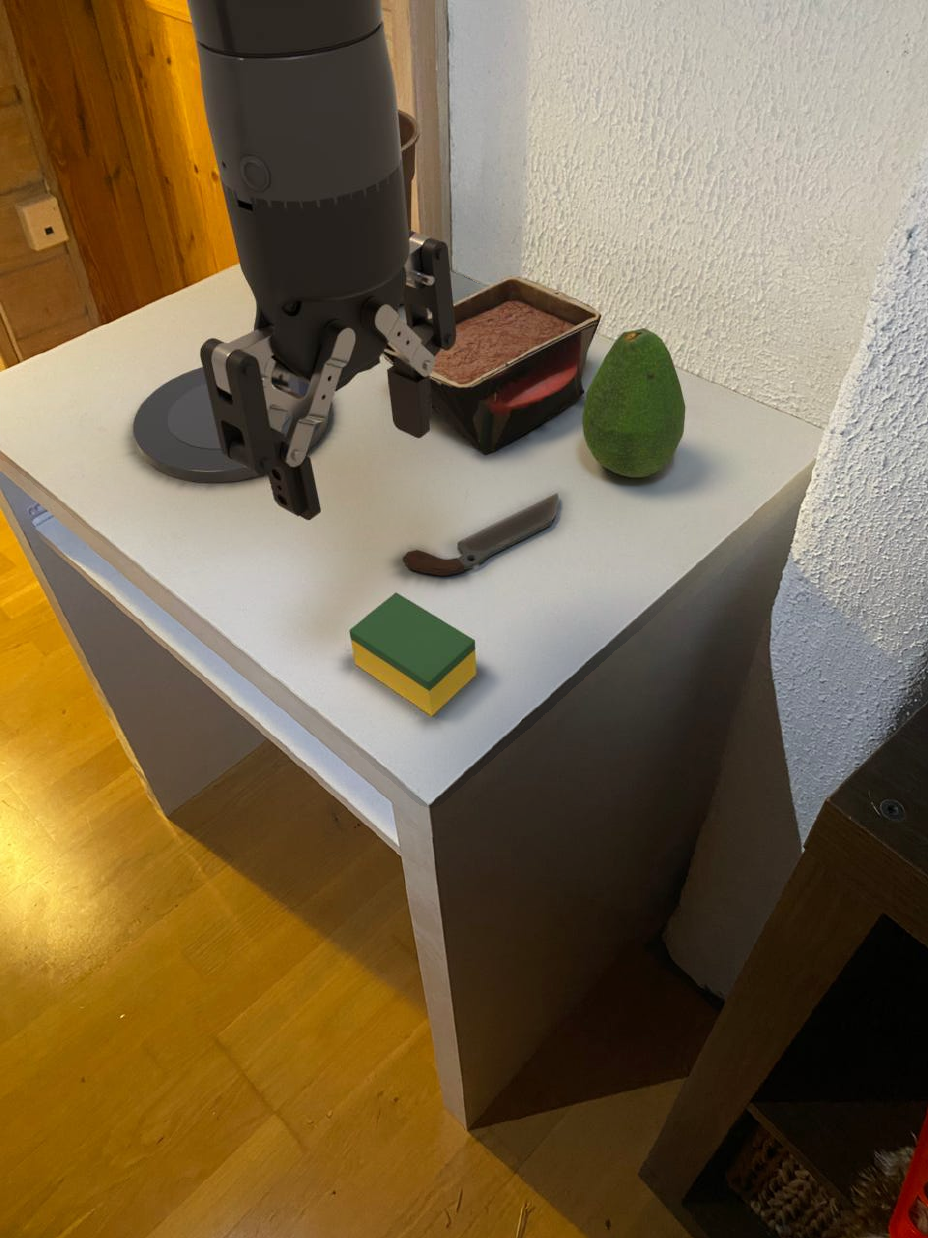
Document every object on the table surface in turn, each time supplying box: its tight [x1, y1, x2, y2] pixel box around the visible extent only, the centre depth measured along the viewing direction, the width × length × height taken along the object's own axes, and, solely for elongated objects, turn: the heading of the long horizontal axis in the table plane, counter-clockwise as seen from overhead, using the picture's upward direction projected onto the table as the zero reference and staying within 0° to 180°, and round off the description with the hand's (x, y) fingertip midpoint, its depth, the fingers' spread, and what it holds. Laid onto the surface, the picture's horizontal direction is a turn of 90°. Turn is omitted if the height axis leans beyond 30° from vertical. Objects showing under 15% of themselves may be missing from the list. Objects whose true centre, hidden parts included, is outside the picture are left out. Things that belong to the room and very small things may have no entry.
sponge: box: [349, 592, 477, 717], centre depth 61 cm, size 4×7×4 cm, turn 50°
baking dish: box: [383, 275, 603, 456], centre depth 81 cm, size 14×18×10 cm
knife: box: [402, 492, 560, 576], centre depth 70 cm, size 14×4×1 cm, turn 125°
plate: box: [132, 361, 330, 484], centre depth 82 cm, size 17×17×1 cm
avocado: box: [581, 327, 686, 478], centre depth 72 cm, size 8×8×12 cm
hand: (359, 469), depth 50 cm, fingers open, 8 cm apart
